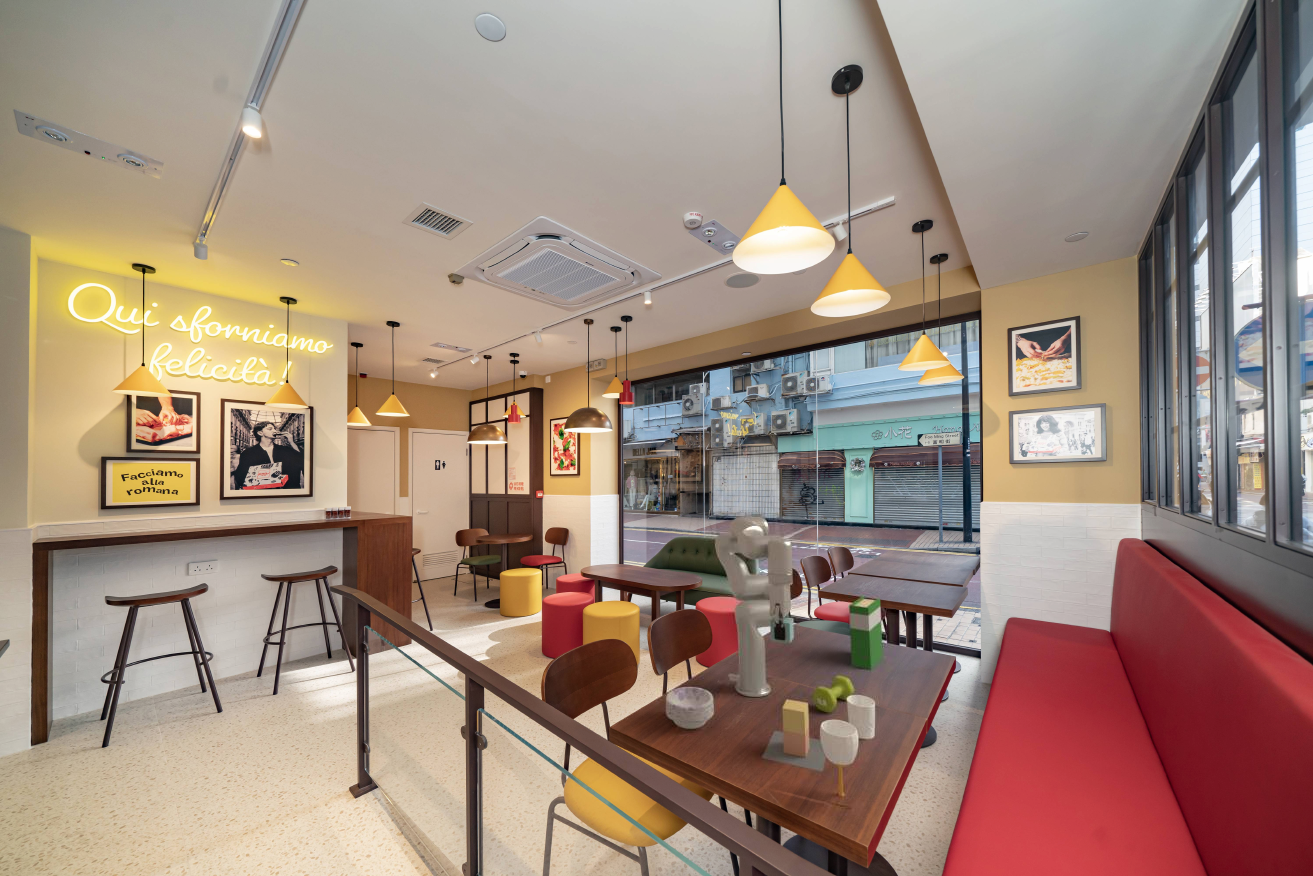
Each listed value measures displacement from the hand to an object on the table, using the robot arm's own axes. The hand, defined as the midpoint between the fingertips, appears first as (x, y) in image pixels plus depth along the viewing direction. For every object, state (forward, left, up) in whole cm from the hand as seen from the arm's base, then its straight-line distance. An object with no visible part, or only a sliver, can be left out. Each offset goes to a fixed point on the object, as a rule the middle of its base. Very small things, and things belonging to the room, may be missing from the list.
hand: (782, 635), depth 159 cm
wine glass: (+20, -30, -27) cm, 45 cm away
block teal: (0, 0, -1) cm, 1 cm away
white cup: (+22, +3, -27) cm, 35 cm away
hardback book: (+20, +67, -27) cm, 75 cm away
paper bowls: (-28, -10, -27) cm, 40 cm away
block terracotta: (+6, -14, -26) cm, 31 cm away
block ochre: (+6, -14, -20) cm, 26 cm away
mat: (+6, -14, -27) cm, 31 cm away
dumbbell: (+12, +21, -27) cm, 37 cm away
